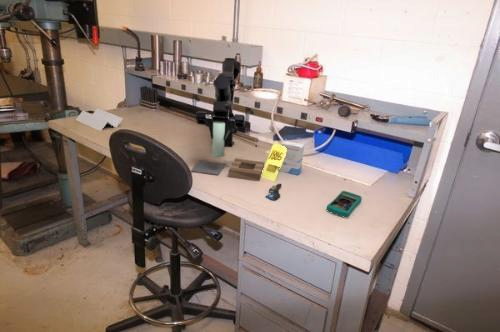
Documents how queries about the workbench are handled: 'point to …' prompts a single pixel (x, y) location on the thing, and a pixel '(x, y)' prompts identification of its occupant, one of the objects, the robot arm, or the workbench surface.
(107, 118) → the z bracket
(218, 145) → the pin
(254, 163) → the socket block
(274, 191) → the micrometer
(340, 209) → the digital multimeter
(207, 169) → the mat
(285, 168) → the ink box
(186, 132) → the workbench surface
